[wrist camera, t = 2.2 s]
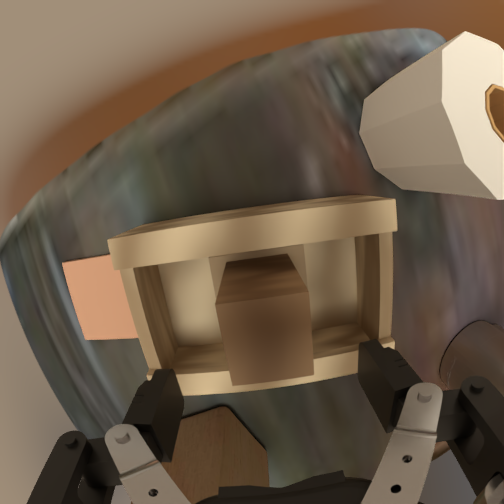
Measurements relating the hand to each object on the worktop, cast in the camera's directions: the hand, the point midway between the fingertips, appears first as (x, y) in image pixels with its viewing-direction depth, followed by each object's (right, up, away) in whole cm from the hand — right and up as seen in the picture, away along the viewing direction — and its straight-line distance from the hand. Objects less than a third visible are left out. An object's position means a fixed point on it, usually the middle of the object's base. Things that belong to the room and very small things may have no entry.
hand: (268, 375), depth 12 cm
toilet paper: (+13, +16, +11) cm, 23 cm away
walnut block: (0, +2, +11) cm, 11 cm away
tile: (-14, +1, +13) cm, 19 cm away
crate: (0, +3, +13) cm, 13 cm away
